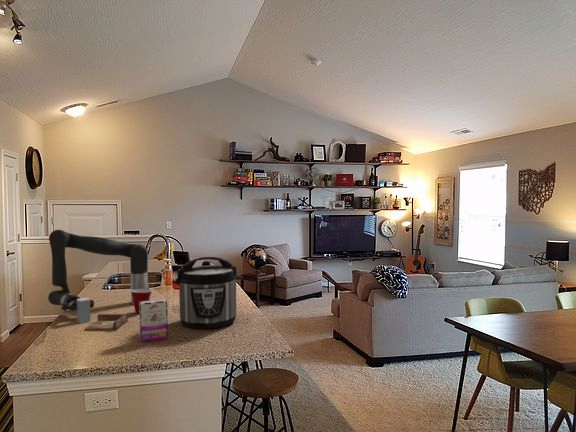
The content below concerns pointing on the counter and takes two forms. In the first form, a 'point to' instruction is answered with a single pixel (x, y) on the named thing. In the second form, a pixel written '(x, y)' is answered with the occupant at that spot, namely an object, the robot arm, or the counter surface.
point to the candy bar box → (153, 320)
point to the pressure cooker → (207, 293)
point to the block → (83, 310)
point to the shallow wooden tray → (108, 322)
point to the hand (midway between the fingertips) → (83, 307)
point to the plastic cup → (140, 297)
